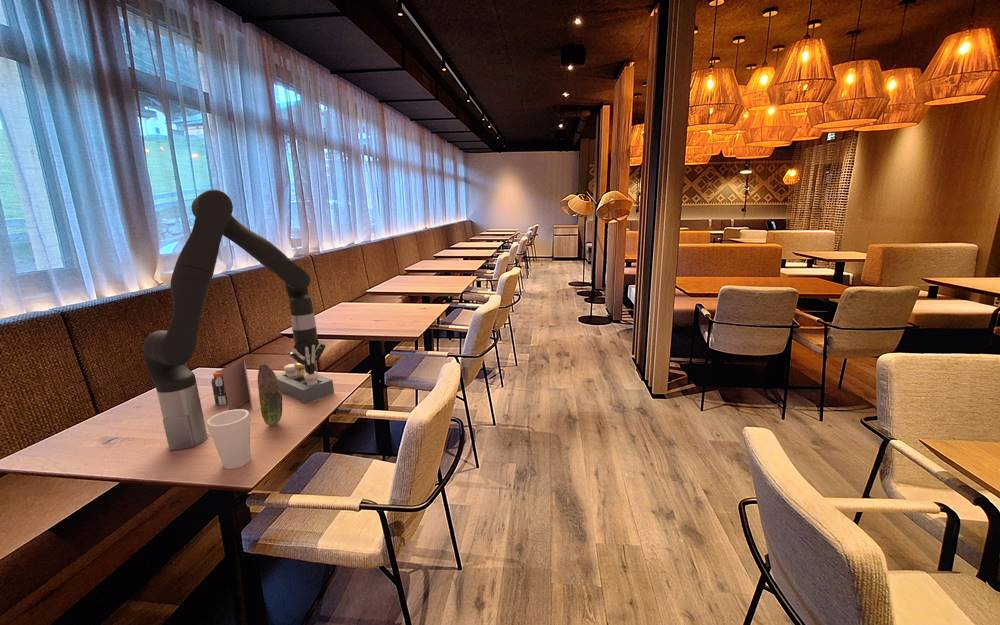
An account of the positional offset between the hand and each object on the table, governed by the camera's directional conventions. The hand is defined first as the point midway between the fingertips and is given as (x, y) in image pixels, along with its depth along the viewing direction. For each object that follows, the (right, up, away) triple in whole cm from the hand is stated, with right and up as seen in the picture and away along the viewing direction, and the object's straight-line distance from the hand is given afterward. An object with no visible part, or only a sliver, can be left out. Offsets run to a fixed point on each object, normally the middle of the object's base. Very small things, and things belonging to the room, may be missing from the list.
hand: (310, 373), depth 157 cm
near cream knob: (0, -7, +2) cm, 7 cm away
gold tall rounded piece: (-5, -3, +5) cm, 8 cm away
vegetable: (-3, -13, -18) cm, 23 cm away
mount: (-5, -7, +6) cm, 11 cm away
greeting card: (-20, -10, -4) cm, 23 cm away
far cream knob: (-11, -5, +10) cm, 16 cm away
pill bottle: (-30, -10, -1) cm, 31 cm away
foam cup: (-3, -18, -39) cm, 43 cm away
